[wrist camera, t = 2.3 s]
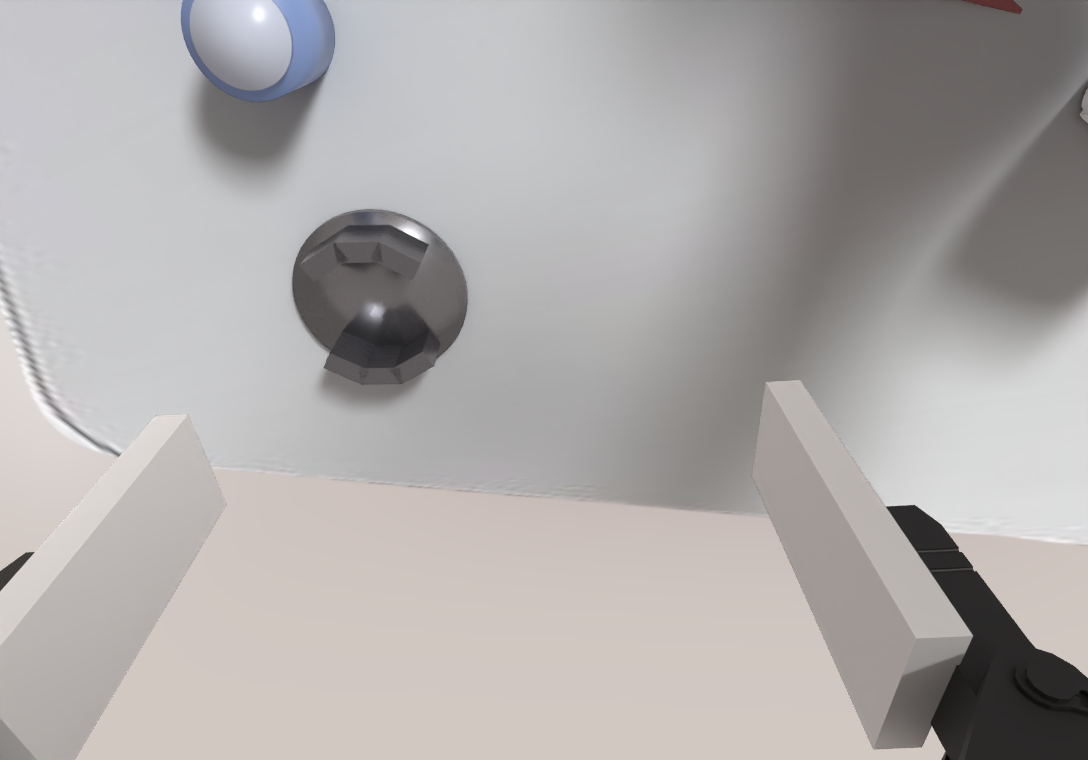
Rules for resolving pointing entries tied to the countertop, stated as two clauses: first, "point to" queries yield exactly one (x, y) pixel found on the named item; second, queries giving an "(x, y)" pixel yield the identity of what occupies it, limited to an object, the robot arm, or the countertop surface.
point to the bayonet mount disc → (379, 295)
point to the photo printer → (1085, 107)
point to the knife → (999, 4)
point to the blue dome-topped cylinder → (259, 44)
